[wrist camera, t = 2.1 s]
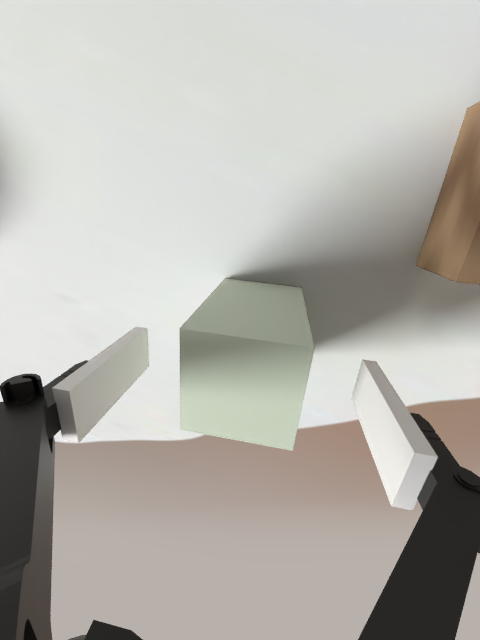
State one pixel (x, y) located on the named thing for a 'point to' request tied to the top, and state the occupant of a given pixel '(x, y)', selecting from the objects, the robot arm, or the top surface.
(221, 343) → the sage block
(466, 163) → the tower base
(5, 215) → the top surface
